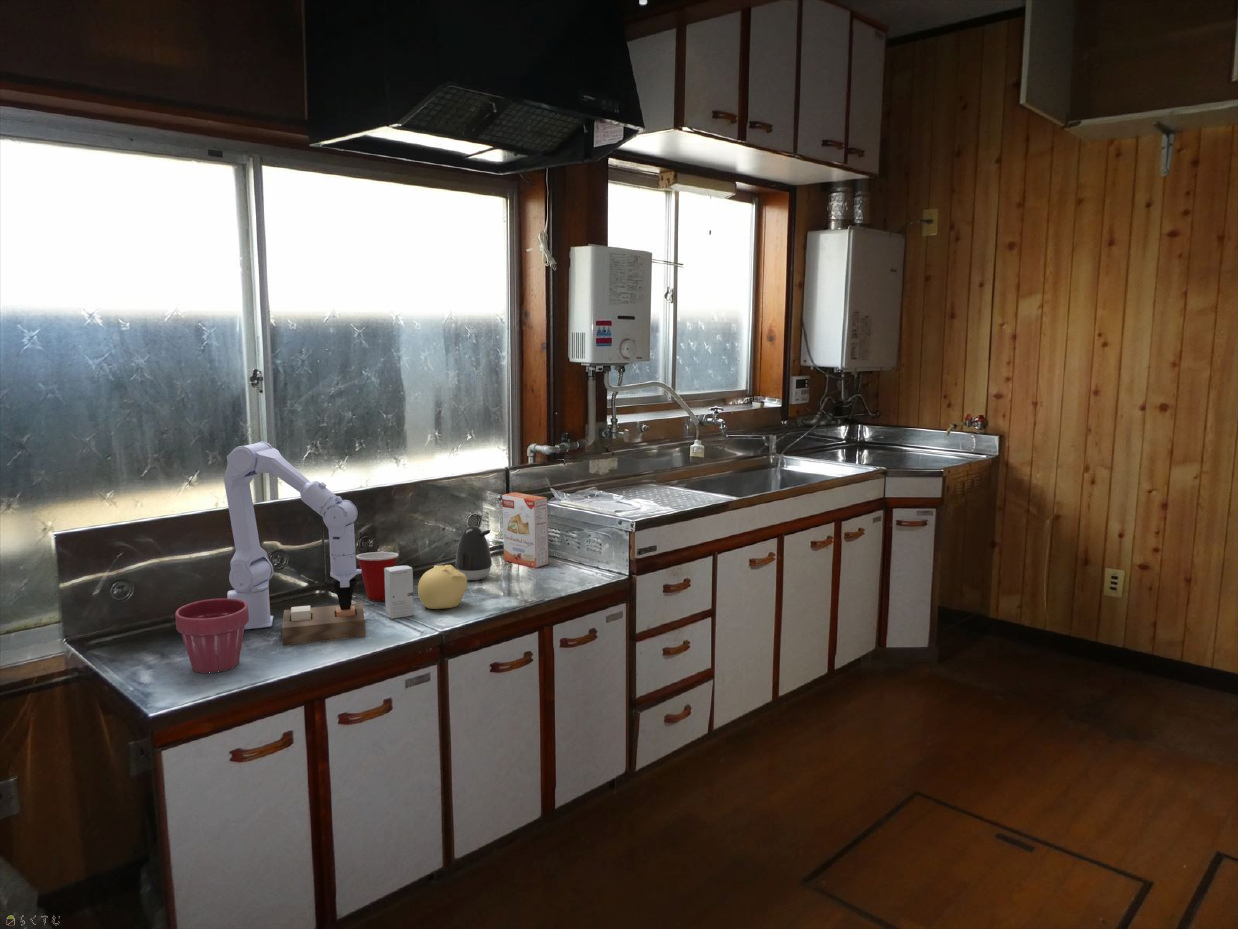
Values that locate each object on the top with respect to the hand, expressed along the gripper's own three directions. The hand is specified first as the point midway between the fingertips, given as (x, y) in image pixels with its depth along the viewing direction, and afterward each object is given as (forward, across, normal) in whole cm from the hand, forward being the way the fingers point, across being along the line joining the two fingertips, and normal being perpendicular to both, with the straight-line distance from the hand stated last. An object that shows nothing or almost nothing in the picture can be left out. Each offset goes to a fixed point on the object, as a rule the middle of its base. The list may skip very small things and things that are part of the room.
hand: (345, 609), depth 217 cm
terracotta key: (+3, 0, 0) cm, 3 cm away
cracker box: (+5, +47, -54) cm, 71 cm away
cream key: (+2, 0, +10) cm, 10 cm away
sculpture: (+5, +11, -24) cm, 27 cm away
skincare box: (+5, +7, -13) cm, 16 cm away
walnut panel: (+5, 0, +5) cm, 7 cm away
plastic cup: (+5, +24, -9) cm, 26 cm away
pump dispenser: (+5, +35, -36) cm, 50 cm away
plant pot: (+5, -16, +27) cm, 32 cm away
